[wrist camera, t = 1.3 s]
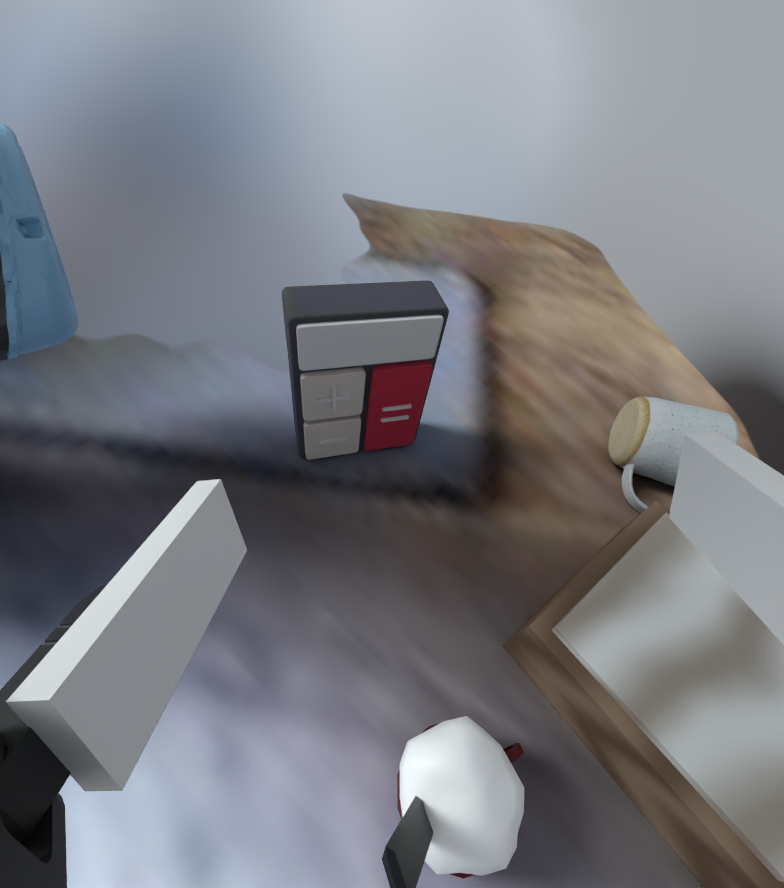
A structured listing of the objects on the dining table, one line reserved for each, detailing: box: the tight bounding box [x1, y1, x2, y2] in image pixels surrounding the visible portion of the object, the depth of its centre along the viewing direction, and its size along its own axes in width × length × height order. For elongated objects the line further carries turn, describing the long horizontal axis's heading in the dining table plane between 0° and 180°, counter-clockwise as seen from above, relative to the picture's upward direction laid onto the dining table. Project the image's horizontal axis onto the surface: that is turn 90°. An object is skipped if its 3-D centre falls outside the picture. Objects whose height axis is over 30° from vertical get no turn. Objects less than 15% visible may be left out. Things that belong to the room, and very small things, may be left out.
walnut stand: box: [503, 501, 784, 888], centre depth 28 cm, size 16×16×6 cm
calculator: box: [282, 281, 449, 460], centre depth 34 cm, size 11×4×15 cm, turn 105°
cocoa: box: [382, 716, 524, 888], centre depth 20 cm, size 10×6×12 cm, turn 92°
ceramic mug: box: [608, 397, 738, 513], centre depth 38 cm, size 11×8×8 cm
